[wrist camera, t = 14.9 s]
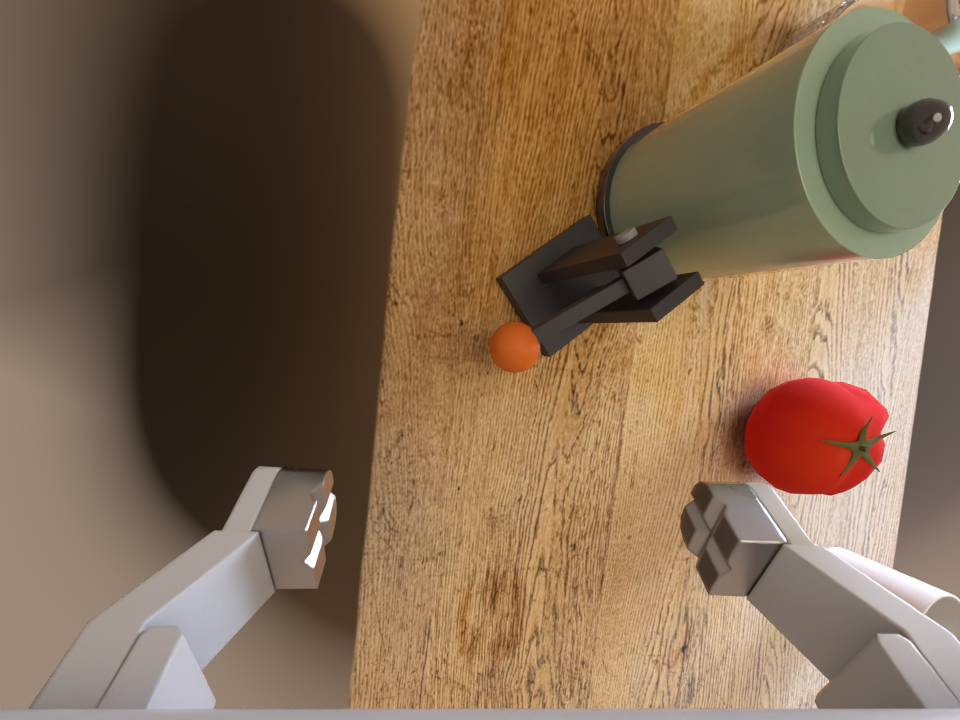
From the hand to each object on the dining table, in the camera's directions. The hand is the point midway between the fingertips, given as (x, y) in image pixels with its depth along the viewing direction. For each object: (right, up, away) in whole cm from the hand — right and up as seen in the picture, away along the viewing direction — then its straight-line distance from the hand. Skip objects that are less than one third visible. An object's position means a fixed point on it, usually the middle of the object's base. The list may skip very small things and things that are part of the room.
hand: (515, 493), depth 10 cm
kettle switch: (+6, +7, +23) cm, 25 cm away
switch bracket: (+7, +10, +30) cm, 33 cm away
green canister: (+17, +17, +33) cm, 41 cm away
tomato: (+30, -4, +39) cm, 49 cm away
